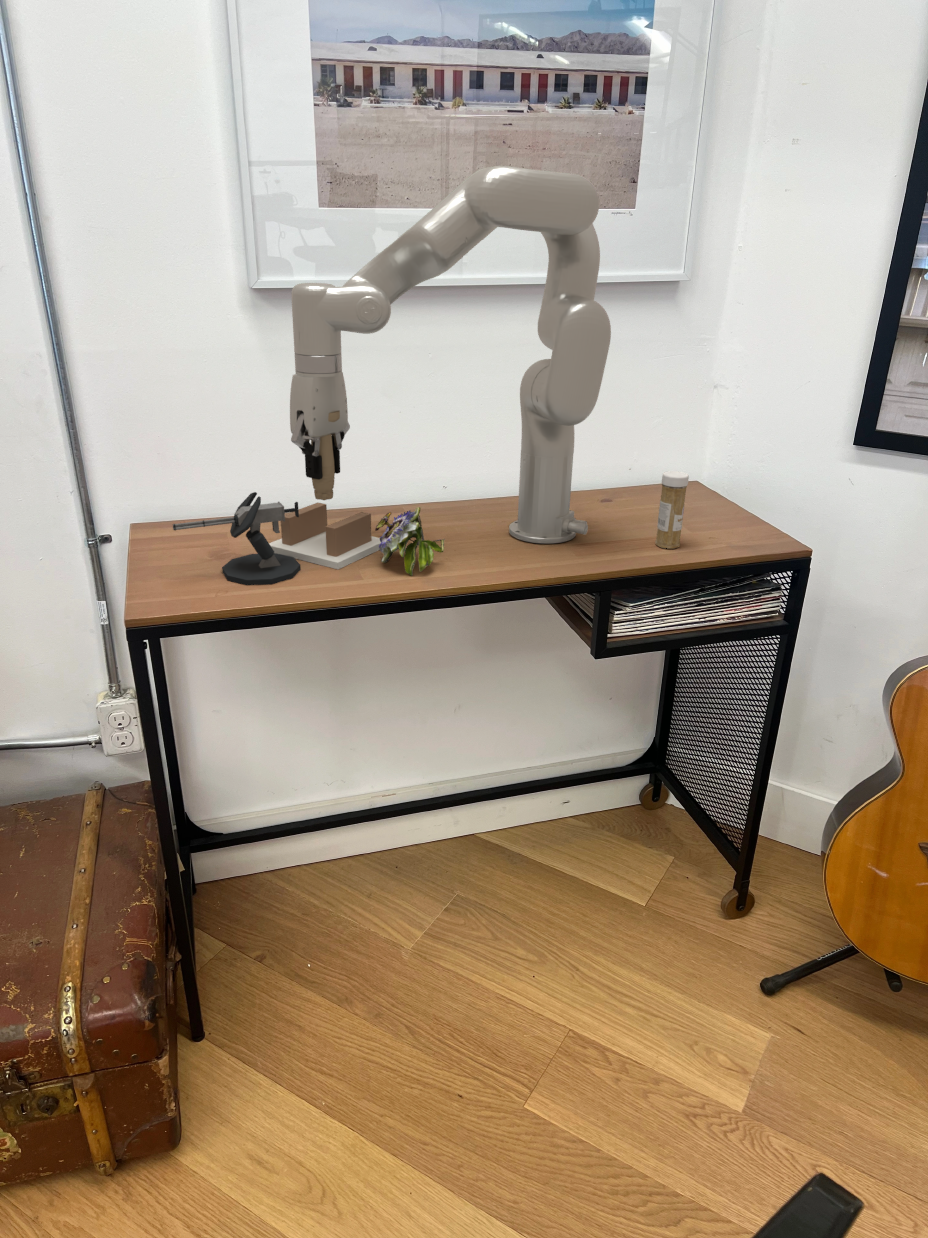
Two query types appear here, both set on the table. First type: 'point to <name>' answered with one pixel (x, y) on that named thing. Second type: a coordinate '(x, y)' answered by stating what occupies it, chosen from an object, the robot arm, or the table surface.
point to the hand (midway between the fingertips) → (323, 473)
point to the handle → (326, 464)
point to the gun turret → (255, 543)
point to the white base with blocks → (326, 537)
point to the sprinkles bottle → (671, 509)
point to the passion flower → (401, 534)
